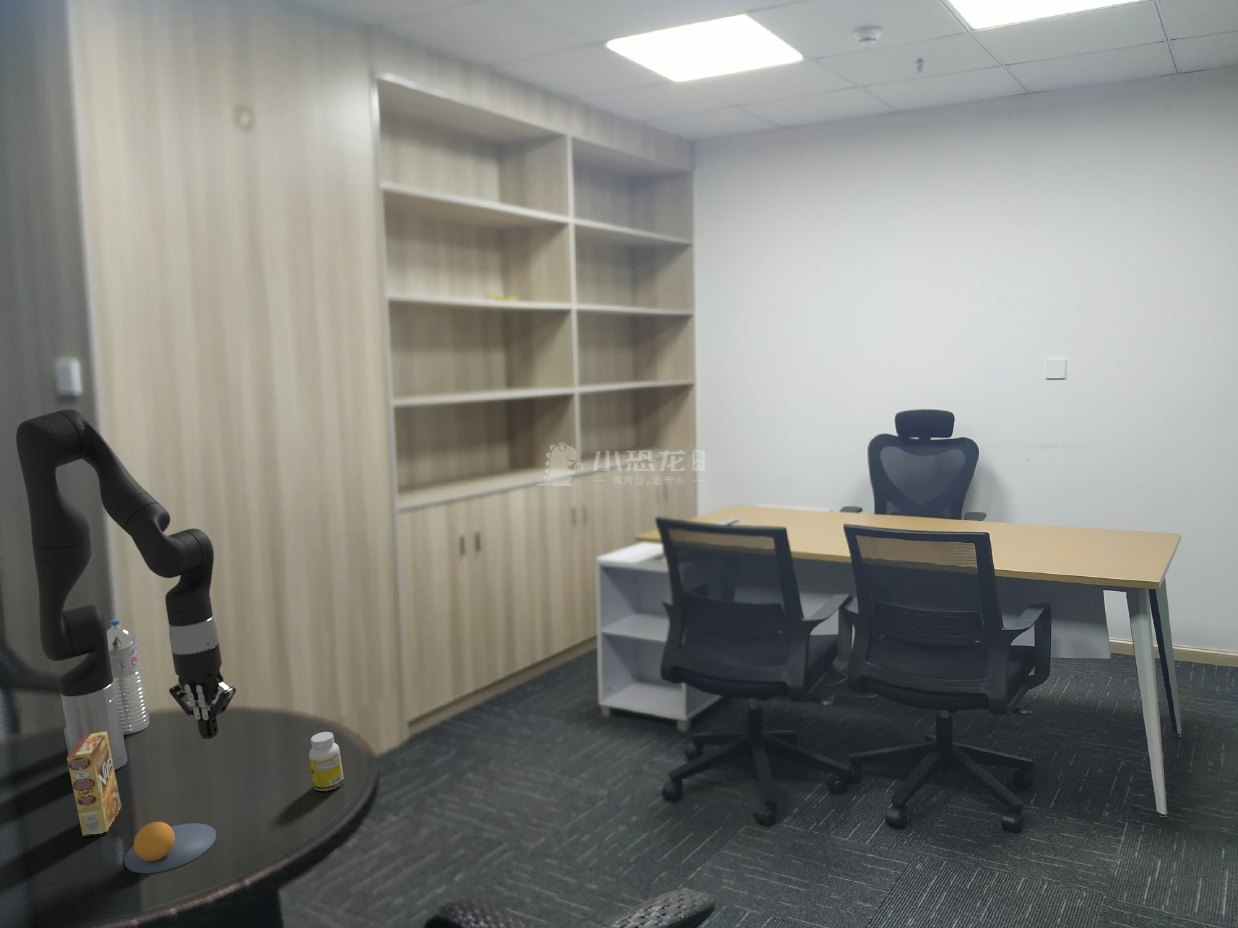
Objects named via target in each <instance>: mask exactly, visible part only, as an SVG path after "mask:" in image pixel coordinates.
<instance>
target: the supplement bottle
mask: <svg viewBox="0 0 1238 928" xmlns="http://www.w3.org/2000/svg"><path fill="white" fill-rule="evenodd" d="M310 744H311V745H310V746H311V749H310V750H309V753H308V757H309V758H308V759H309V763H310V764H309V765H310V771H311V777H312V782H313V788H314V787H315V788H317V789H325V788H330V787H334V786H335V785H337V784H340V782H342V780H343V779H344V780H345V778H344V771H343V765H342V758H341V757H342V756H341V751H340V750H341V749H340V746H339V745H338V744H337V743H335V738H334V734H333V733H332V732H331V731H330V732H329V731H323V732H319V733H316V734H314V735H313V736H312V737H311V738H310ZM315 788H314V789H315Z"/></svg>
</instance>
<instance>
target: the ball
mask: <svg viewBox="0 0 1238 928" xmlns="http://www.w3.org/2000/svg"><path fill="white" fill-rule="evenodd" d="M171 827H172V826H170V825H169V824H168V823H166V822H163V821H152V822H149V823H147V824H146V825H144V826H142V827H141V828H140V830H139V831H138V832H137V833H136V835H135V837H134V840H133V846H134V850H135V852H136V854H137V855H138V856H139V857H140V858H141V859H143V860H146V861H156V860H159V859H161V858H163V857H165V856H166V855H167V854H168V853H169V852H170V851H171V849H172V847H173V845H174V841H175V835H174V832H173V830H172V828H171Z"/></svg>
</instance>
